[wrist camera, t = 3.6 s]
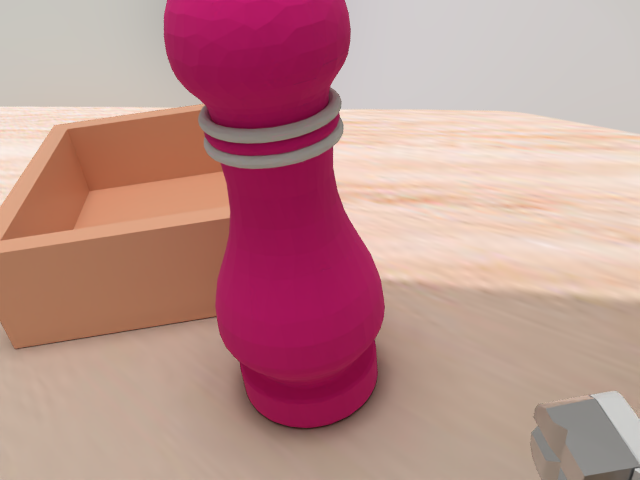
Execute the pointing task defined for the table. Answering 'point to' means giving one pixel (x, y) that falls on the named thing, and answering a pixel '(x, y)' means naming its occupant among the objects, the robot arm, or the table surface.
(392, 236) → the table surface
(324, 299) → the pepper mill
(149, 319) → the crate
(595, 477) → the robot arm
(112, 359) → the table surface
